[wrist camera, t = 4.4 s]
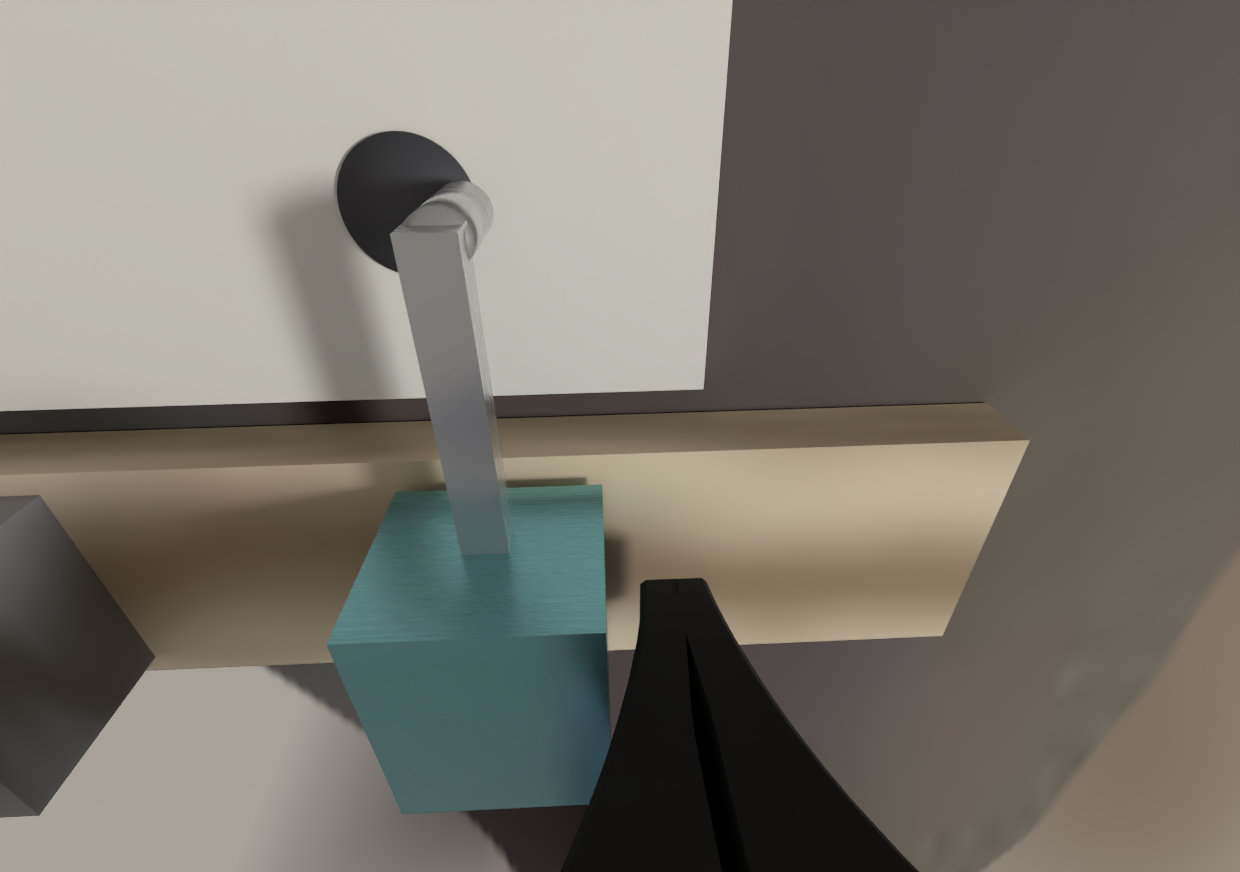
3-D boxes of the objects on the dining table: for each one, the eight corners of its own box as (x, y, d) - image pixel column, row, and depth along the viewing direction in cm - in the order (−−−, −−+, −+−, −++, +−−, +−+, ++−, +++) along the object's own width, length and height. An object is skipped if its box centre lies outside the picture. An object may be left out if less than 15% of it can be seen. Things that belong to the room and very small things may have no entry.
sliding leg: (607, 627, 14) (612, 802, 11) (447, 634, 14) (401, 814, 11) (591, 177, 9) (592, 251, 5) (325, 182, 9) (152, 260, 5)
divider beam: (914, 590, 16) (1029, 777, 12) (26, 627, 15) (-186, 839, 11) (1081, 156, 10) (1430, 222, 6) (-357, 185, 9) (-1126, 283, 5)
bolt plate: (697, 371, 12) (703, 391, 11) (-199, 398, 12) (-253, 420, 11) (726, -71, 8) (740, -84, 7) (-611, -59, 8) (-737, -73, 7)
